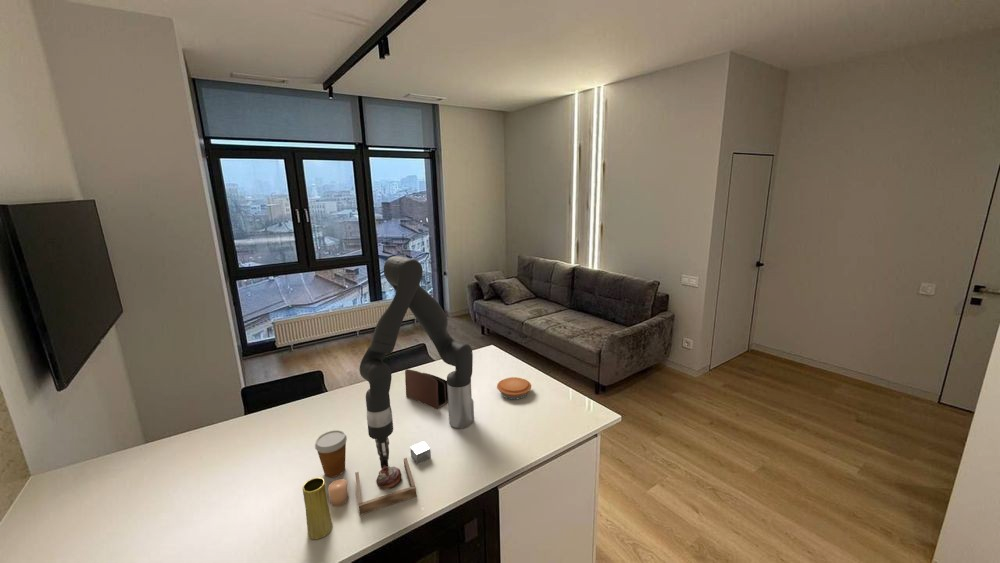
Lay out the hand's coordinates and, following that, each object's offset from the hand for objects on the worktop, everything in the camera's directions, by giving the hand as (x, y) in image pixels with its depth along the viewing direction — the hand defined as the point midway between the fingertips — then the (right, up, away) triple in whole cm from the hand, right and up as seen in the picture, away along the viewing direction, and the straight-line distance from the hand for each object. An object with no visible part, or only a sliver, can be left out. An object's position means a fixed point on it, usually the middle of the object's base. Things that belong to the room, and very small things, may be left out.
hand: (384, 467), depth 122 cm
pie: (+44, +10, +48) cm, 66 cm away
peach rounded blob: (-10, -4, -11) cm, 15 cm away
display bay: (+2, -3, -7) cm, 8 cm away
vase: (-11, -7, -21) cm, 24 cm away
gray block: (+10, 0, +7) cm, 12 cm away
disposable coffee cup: (-17, -2, +1) cm, 17 cm away
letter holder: (+6, +8, +45) cm, 46 cm away
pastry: (+3, -3, -3) cm, 5 cm away
